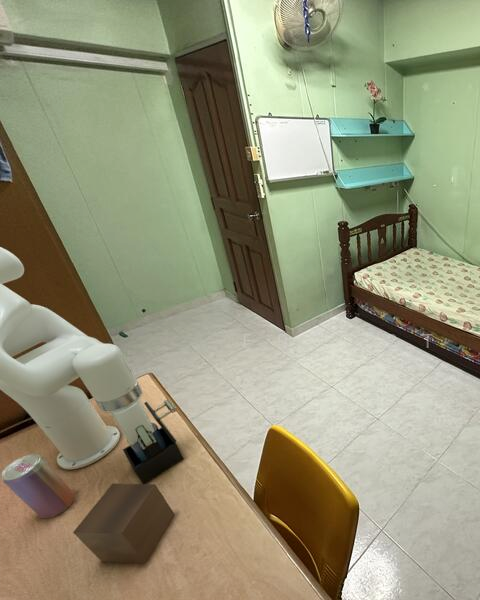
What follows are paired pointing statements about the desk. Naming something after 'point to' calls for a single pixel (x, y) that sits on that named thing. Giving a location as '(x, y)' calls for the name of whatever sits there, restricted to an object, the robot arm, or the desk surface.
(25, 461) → the beverage can
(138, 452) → the cup
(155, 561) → the desk surface
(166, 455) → the wash box
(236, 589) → the desk surface
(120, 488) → the stand
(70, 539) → the desk surface
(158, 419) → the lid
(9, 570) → the desk surface
